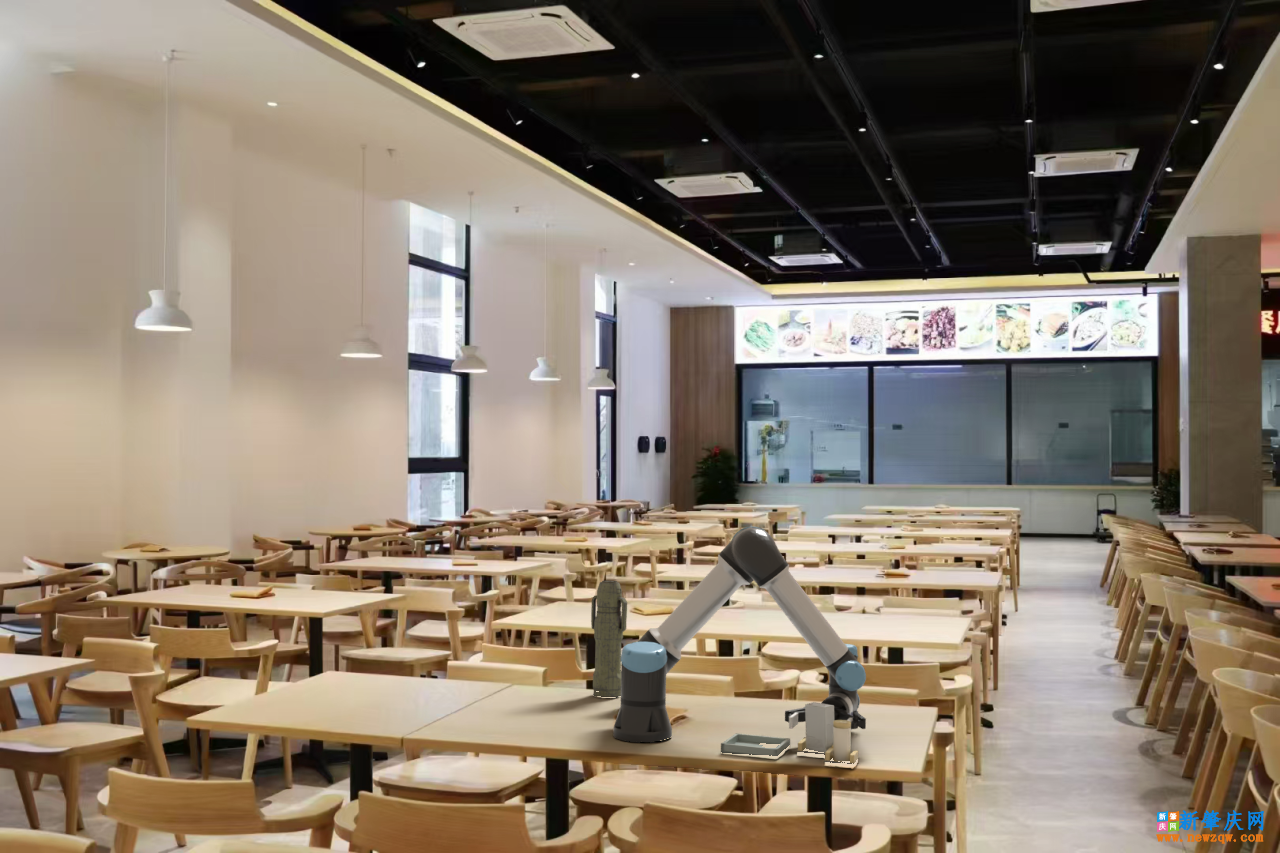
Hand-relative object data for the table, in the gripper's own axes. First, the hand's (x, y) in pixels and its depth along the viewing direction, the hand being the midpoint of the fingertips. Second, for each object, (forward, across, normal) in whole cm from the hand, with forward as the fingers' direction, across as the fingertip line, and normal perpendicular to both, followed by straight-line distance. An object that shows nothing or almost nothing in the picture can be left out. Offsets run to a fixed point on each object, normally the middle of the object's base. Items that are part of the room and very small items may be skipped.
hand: (818, 725), depth 279 cm
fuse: (+5, -7, -7) cm, 11 cm away
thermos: (-50, +76, -8) cm, 91 cm away
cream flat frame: (+1, -3, -7) cm, 8 cm away
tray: (+1, +15, -7) cm, 17 cm away
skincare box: (-3, 0, -8) cm, 8 cm away
